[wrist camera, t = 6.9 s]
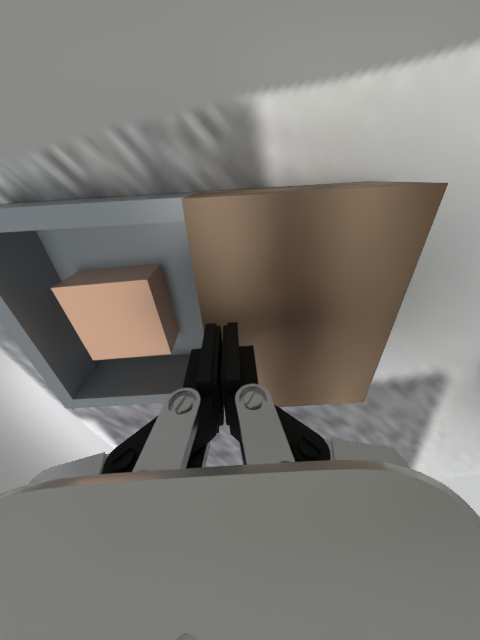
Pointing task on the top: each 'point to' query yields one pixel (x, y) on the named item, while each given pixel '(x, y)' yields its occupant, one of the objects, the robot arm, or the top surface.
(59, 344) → the box
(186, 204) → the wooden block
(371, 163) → the top surface
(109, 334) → the terracotta block
